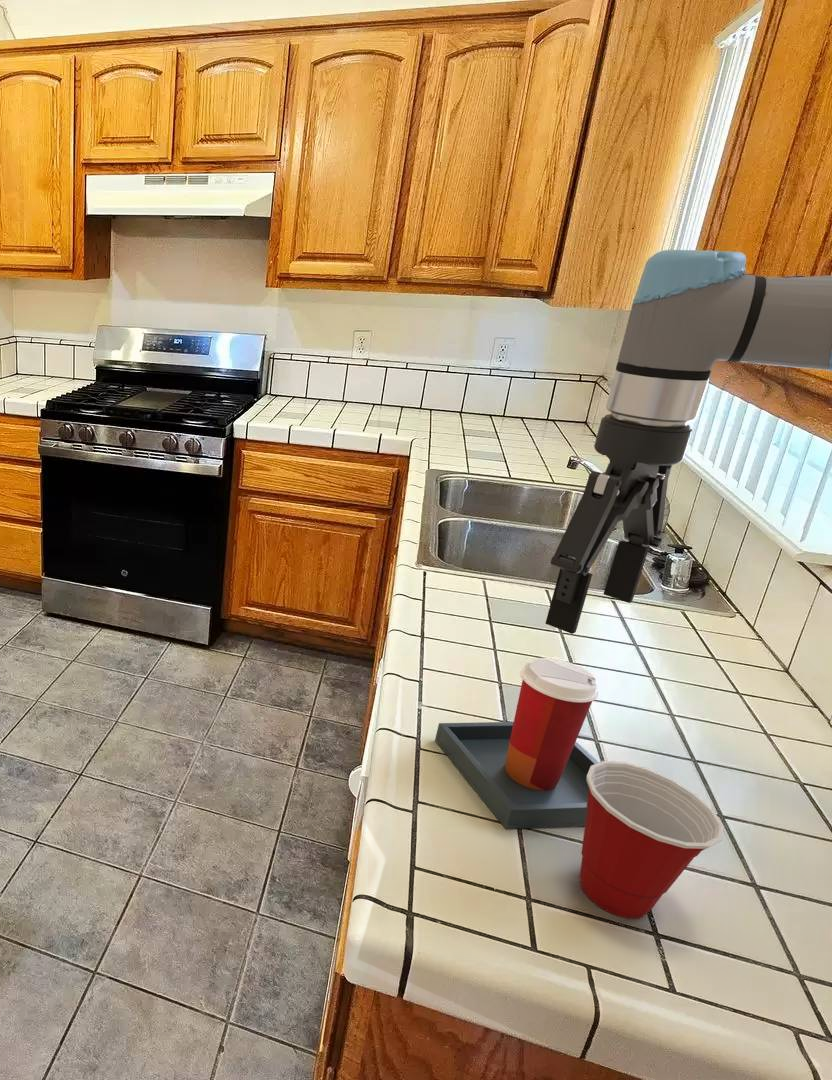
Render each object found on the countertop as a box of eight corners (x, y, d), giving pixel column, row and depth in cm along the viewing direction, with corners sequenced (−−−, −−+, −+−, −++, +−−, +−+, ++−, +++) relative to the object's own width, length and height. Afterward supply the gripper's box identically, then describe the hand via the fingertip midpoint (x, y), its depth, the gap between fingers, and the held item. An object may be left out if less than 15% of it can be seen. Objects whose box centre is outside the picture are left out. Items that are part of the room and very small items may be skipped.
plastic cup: (691, 964, 66) (739, 859, 62) (553, 911, 71) (588, 810, 67) (675, 881, 75) (716, 784, 71) (553, 839, 80) (585, 745, 76)
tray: (638, 824, 83) (645, 805, 82) (505, 829, 81) (511, 810, 80) (549, 737, 97) (554, 720, 96) (434, 740, 96) (438, 722, 95)
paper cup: (570, 770, 90) (603, 669, 85) (564, 806, 84) (600, 699, 79) (498, 746, 94) (526, 647, 89) (489, 778, 88) (518, 675, 83)
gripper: (656, 401, 84) (604, 575, 91) (546, 423, 70) (496, 627, 77) (737, 413, 78) (675, 598, 86) (636, 440, 64) (572, 658, 72)
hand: (590, 612), depth 82 cm, fingers open, 13 cm apart
